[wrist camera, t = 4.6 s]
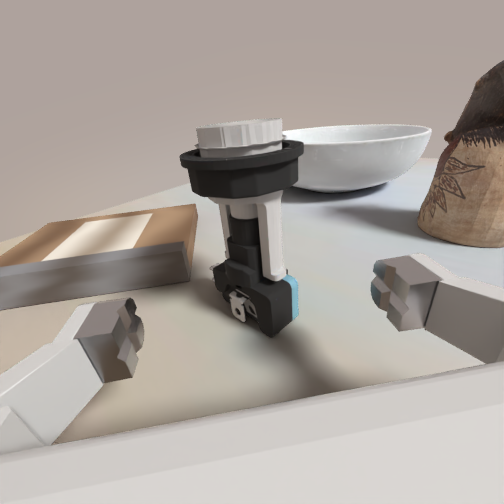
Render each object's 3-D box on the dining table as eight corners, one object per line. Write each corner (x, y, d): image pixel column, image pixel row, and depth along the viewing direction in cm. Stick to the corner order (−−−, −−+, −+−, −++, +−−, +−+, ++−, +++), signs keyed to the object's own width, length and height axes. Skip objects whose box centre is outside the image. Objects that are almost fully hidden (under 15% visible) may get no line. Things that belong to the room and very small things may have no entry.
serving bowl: (434, 214, 25) (454, 136, 22) (237, 206, 33) (229, 147, 30) (409, 166, 42) (418, 118, 39) (282, 168, 50) (280, 128, 46)
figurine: (478, 210, 25) (530, 54, 19) (555, 244, 19) (666, 29, 13) (402, 217, 25) (431, 65, 19) (453, 253, 19) (519, 45, 13)
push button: (185, 302, 17) (138, 132, 12) (245, 267, 20) (228, 120, 15) (258, 361, 12) (230, 130, 8) (322, 304, 16) (330, 113, 11)
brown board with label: (-49, 317, 18) (-75, 287, 17) (55, 235, 30) (44, 214, 28) (189, 281, 19) (181, 250, 18) (197, 216, 31) (193, 195, 30)
